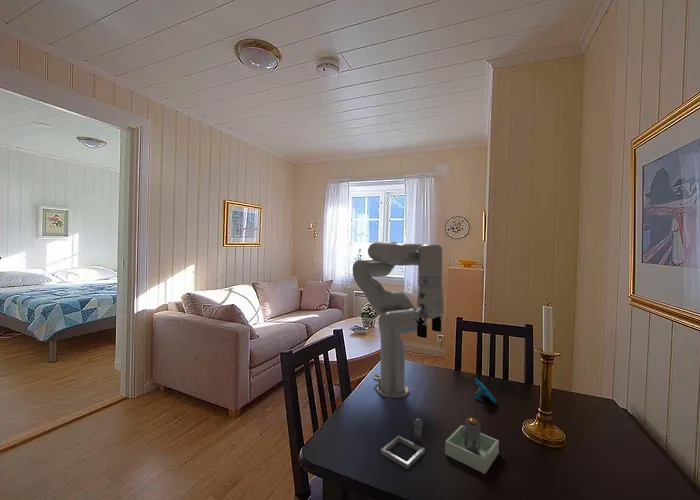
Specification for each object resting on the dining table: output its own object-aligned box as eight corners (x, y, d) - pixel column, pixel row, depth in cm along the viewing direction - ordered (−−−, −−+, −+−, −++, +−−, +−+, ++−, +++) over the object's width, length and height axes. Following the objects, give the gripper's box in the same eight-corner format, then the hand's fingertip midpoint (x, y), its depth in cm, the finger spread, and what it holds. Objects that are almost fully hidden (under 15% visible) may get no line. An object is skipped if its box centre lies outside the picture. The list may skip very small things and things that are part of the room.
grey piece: (380, 453, 84) (380, 431, 84) (407, 431, 94) (407, 411, 94) (407, 469, 78) (407, 445, 78) (433, 444, 88) (433, 422, 88)
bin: (445, 454, 84) (445, 441, 83) (461, 436, 91) (461, 424, 91) (485, 474, 76) (485, 459, 76) (498, 453, 84) (498, 440, 84)
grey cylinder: (476, 458, 81) (477, 425, 81) (461, 451, 84) (462, 419, 84) (482, 451, 84) (482, 419, 84) (467, 444, 87) (468, 414, 87)
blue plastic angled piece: (500, 404, 107) (478, 381, 110) (487, 415, 108) (466, 391, 111) (495, 394, 117) (475, 373, 120) (483, 404, 118) (464, 382, 121)
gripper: (427, 285, 91) (426, 342, 91) (452, 280, 104) (451, 330, 104) (405, 283, 96) (405, 337, 96) (432, 279, 109) (431, 326, 109)
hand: (429, 333), depth 100 cm, fingers open, 9 cm apart
